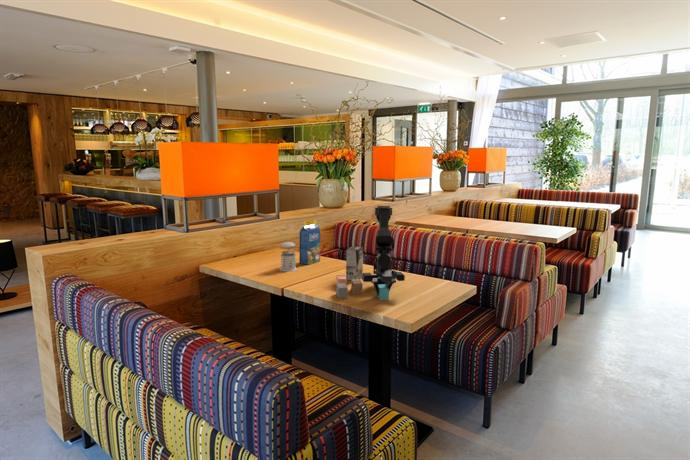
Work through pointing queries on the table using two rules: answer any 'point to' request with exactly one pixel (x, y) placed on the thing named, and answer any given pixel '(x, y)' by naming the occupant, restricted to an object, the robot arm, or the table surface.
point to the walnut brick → (356, 286)
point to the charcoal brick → (341, 290)
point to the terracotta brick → (341, 279)
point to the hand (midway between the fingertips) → (382, 295)
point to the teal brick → (383, 292)
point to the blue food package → (309, 243)
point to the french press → (288, 257)
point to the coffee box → (354, 263)
